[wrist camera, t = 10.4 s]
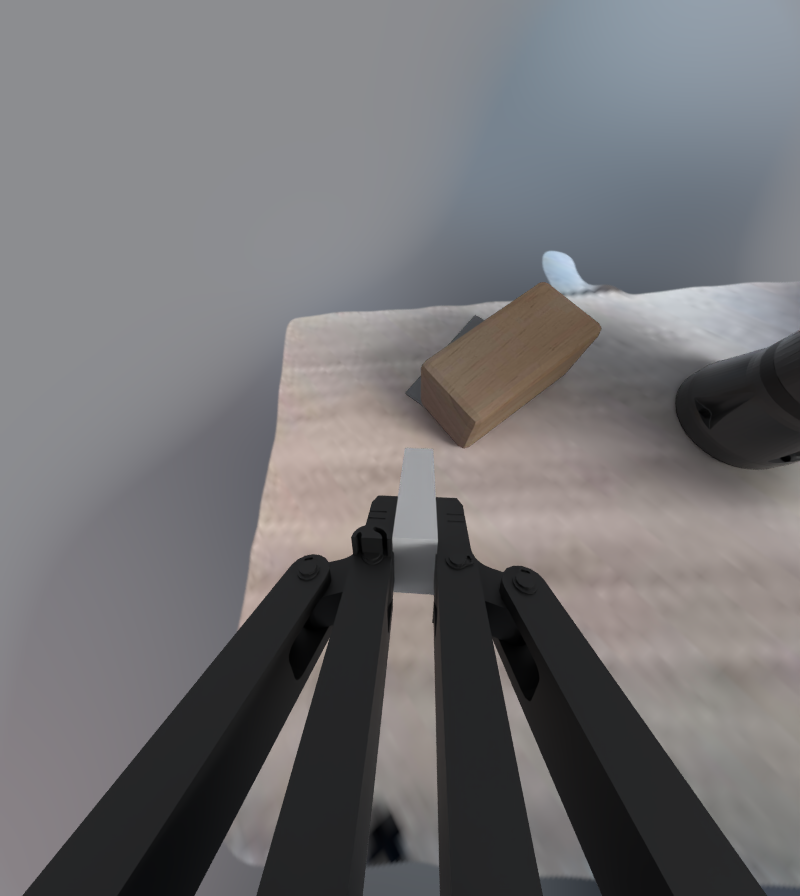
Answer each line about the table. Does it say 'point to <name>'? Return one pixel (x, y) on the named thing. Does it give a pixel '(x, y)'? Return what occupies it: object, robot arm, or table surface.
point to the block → (504, 362)
